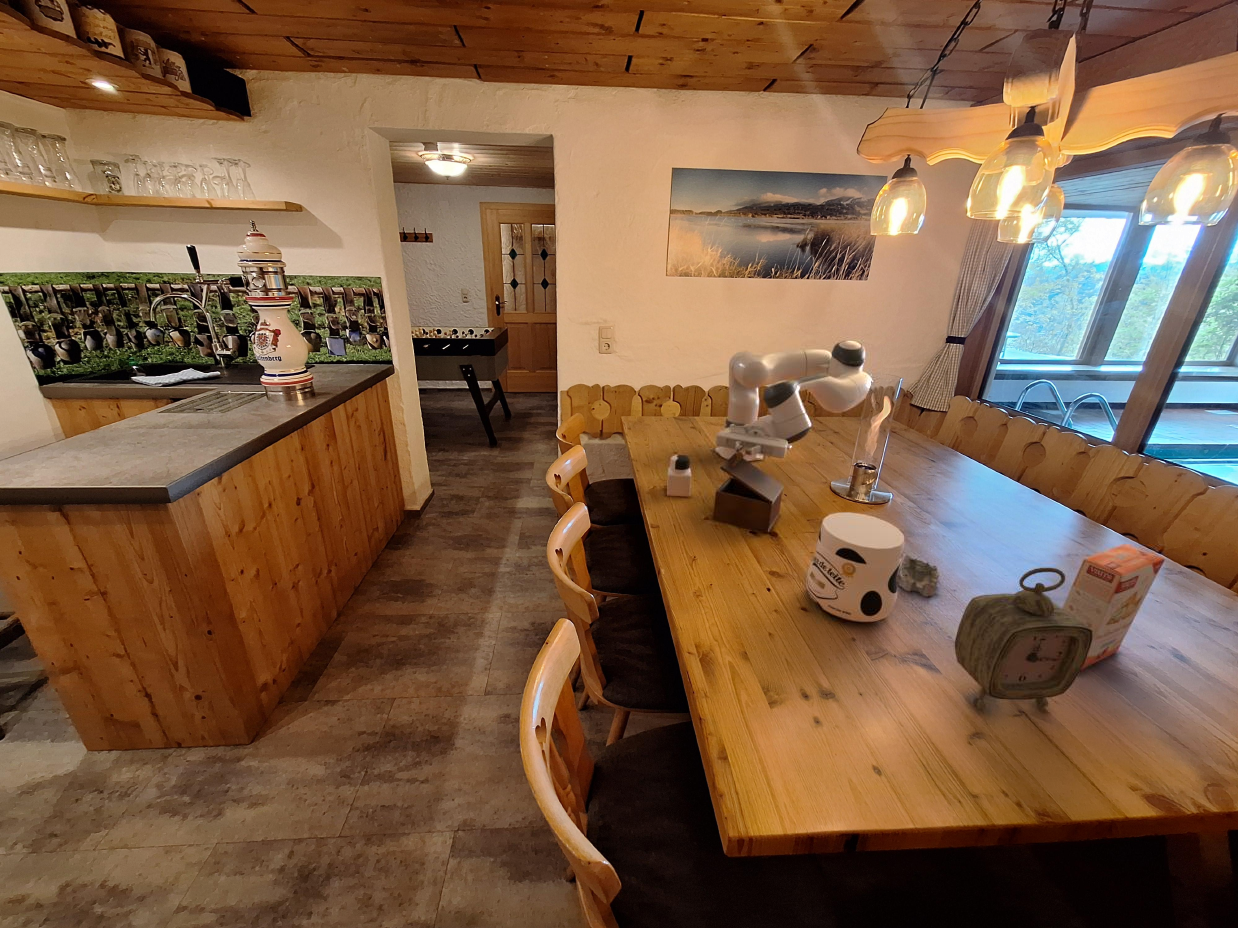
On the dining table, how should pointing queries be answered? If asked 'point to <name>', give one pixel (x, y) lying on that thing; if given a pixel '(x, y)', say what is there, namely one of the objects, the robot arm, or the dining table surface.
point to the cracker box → (1111, 595)
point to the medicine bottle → (679, 476)
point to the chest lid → (752, 476)
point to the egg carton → (918, 576)
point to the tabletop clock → (1021, 644)
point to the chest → (745, 507)
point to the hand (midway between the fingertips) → (743, 451)
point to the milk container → (856, 567)
